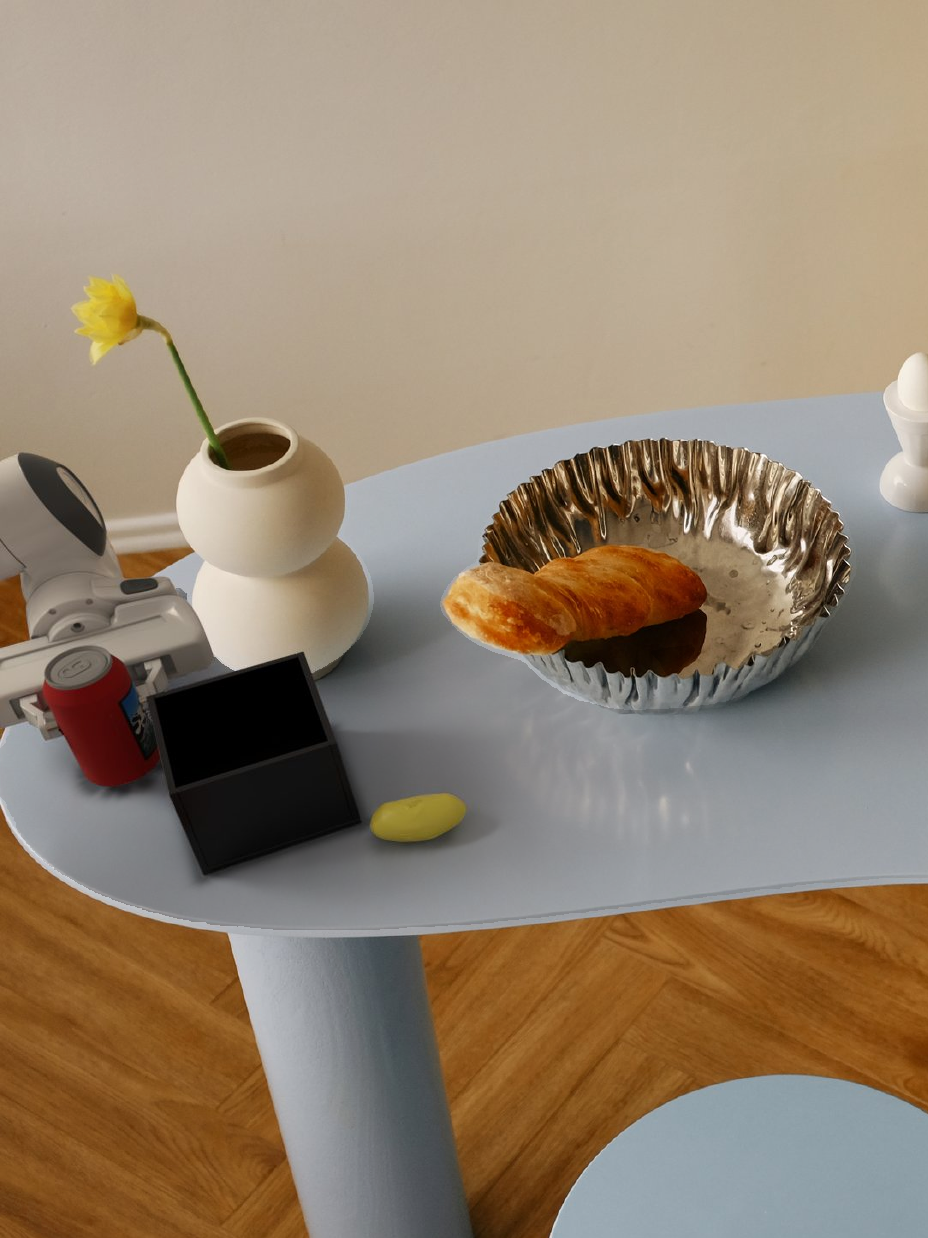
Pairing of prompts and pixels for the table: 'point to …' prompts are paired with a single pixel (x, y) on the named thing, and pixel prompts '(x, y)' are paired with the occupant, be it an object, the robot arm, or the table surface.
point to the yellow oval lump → (417, 817)
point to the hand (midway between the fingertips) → (101, 718)
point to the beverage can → (100, 715)
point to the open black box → (251, 762)
